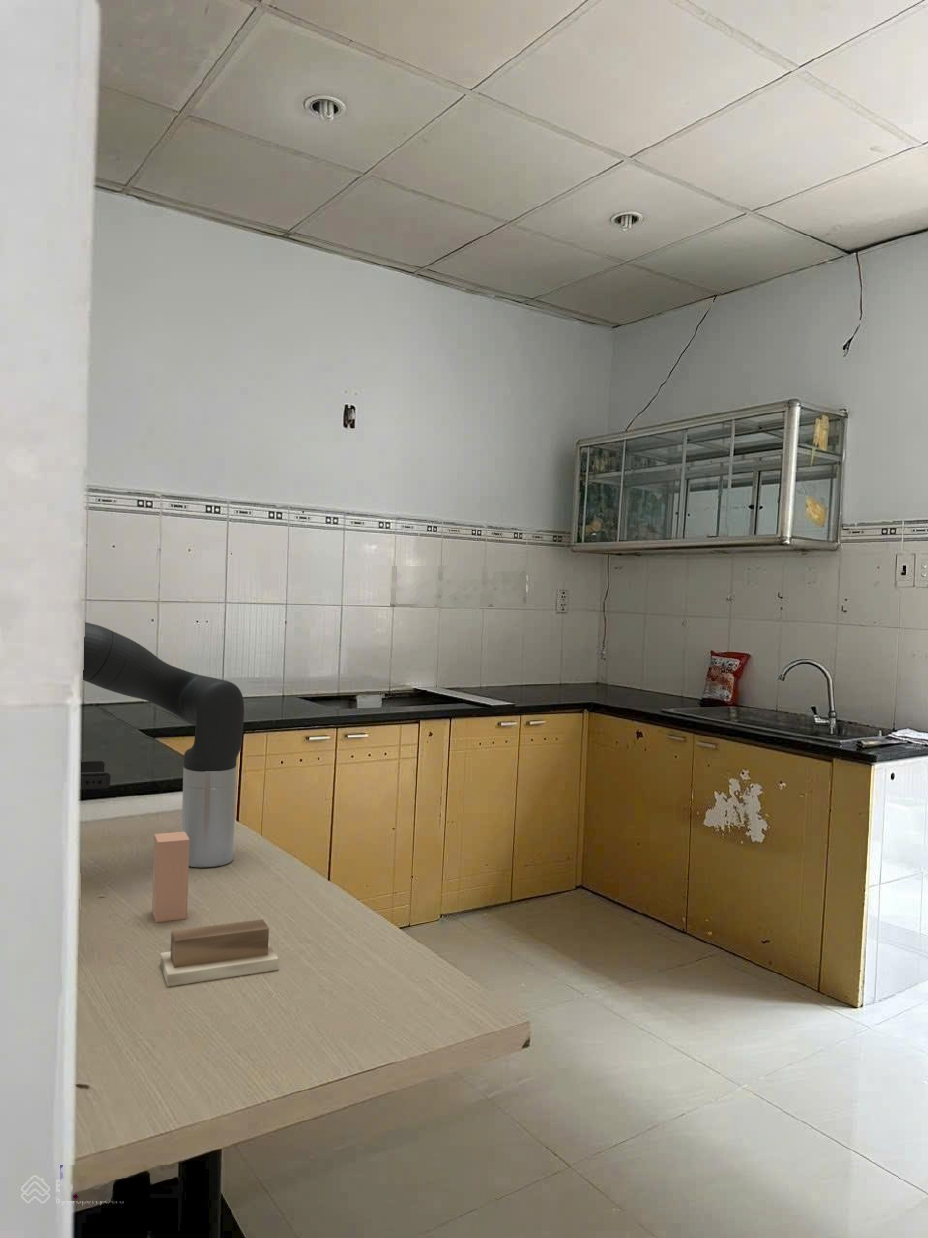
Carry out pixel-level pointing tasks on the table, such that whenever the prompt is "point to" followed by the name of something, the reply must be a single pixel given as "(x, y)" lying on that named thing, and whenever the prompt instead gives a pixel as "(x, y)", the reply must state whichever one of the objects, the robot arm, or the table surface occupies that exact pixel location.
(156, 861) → the block
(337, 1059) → the table surface
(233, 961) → the stand
